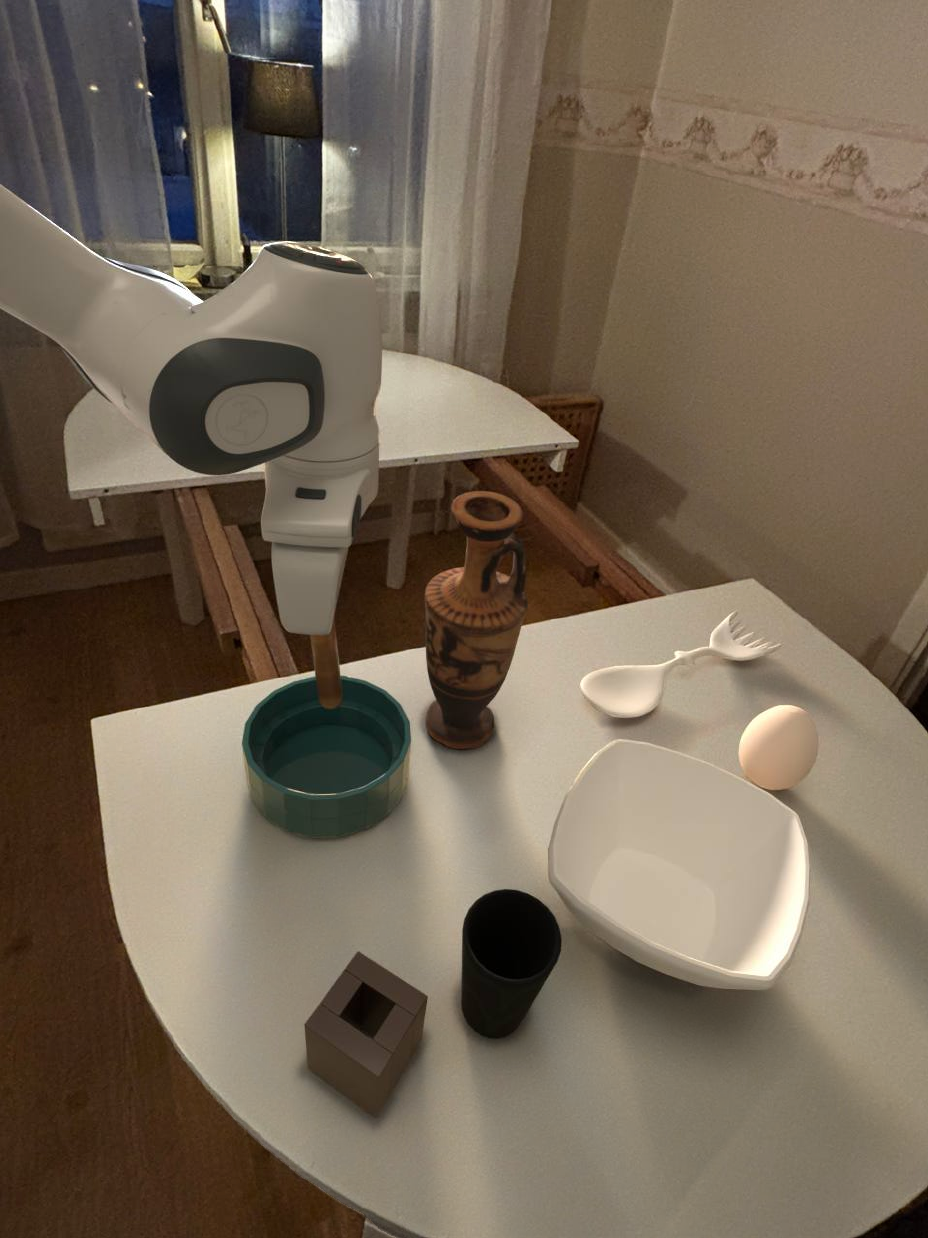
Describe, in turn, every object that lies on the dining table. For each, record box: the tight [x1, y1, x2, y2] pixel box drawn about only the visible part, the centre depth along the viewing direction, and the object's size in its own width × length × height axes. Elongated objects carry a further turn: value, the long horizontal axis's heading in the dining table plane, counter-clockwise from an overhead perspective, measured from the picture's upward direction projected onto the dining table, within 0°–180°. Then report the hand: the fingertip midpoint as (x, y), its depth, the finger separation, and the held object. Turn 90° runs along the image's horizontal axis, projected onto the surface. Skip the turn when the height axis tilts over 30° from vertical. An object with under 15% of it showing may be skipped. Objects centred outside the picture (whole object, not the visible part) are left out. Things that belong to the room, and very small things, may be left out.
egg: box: [738, 704, 819, 791], centre depth 84 cm, size 8×8×11 cm
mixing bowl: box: [241, 675, 412, 839], centre depth 79 cm, size 17×17×7 cm
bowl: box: [547, 738, 811, 991], centre depth 69 cm, size 22×22×12 cm
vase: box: [424, 490, 529, 750], centre depth 80 cm, size 11×11×30 cm
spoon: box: [579, 610, 783, 719], centre depth 99 cm, size 9×32×4 cm, turn 122°
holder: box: [304, 950, 429, 1119], centre depth 57 cm, size 7×7×8 cm
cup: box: [460, 888, 563, 1040], centre depth 60 cm, size 8×8×12 cm
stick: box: [309, 617, 343, 709], centre depth 69 cm, size 2×2×18 cm
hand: (325, 607), depth 67 cm, fingers closed on stick, 2 cm apart
